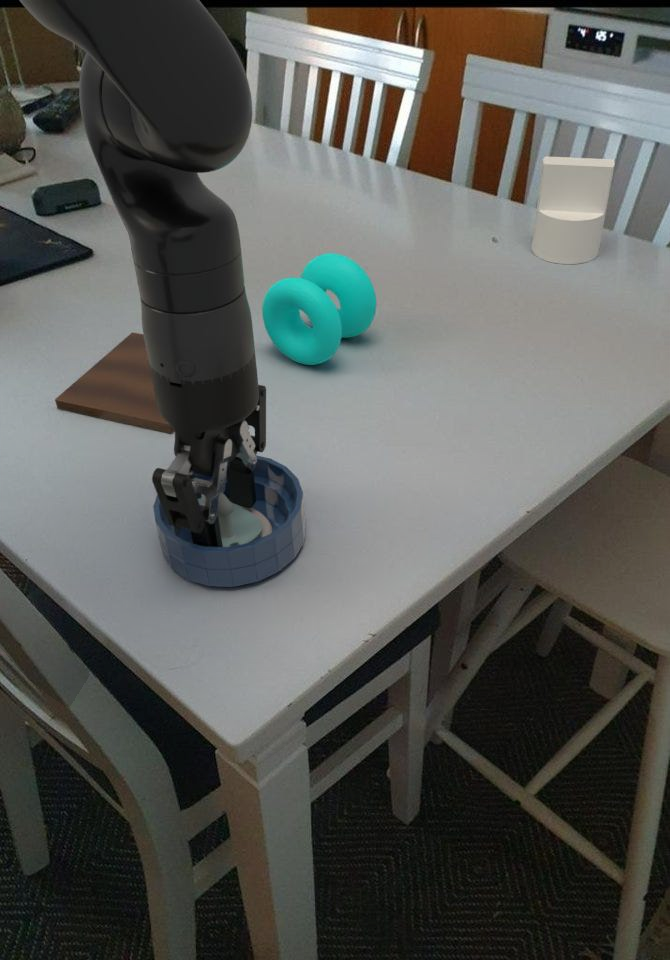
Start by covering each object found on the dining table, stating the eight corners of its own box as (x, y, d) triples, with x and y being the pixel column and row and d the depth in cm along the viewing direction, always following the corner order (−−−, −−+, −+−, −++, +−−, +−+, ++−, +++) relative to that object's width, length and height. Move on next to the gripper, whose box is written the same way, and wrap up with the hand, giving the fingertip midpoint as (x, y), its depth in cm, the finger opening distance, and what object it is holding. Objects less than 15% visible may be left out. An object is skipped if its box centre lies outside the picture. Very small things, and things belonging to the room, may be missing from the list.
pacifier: (230, 499, 73) (178, 533, 69) (223, 443, 69) (168, 476, 66) (288, 535, 69) (237, 573, 66) (285, 478, 65) (229, 514, 62)
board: (171, 434, 82) (169, 424, 81) (57, 408, 86) (54, 399, 85) (238, 360, 92) (237, 351, 92) (134, 340, 97) (132, 331, 96)
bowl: (268, 607, 63) (263, 567, 61) (135, 569, 67) (124, 529, 64) (326, 509, 72) (324, 470, 69) (206, 480, 76) (199, 442, 73)
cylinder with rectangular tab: (529, 261, 109) (541, 172, 102) (533, 235, 116) (544, 149, 108) (598, 266, 108) (615, 175, 100) (598, 239, 114) (614, 151, 107)
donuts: (381, 340, 95) (381, 259, 88) (333, 380, 88) (329, 296, 82) (311, 319, 99) (307, 241, 93) (261, 355, 93) (252, 274, 87)
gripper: (204, 297, 63) (227, 467, 74) (97, 391, 53) (142, 573, 64) (291, 312, 61) (302, 485, 72) (197, 413, 51) (226, 597, 61)
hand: (226, 525), depth 68 cm, fingers closed on pacifier, 5 cm apart
